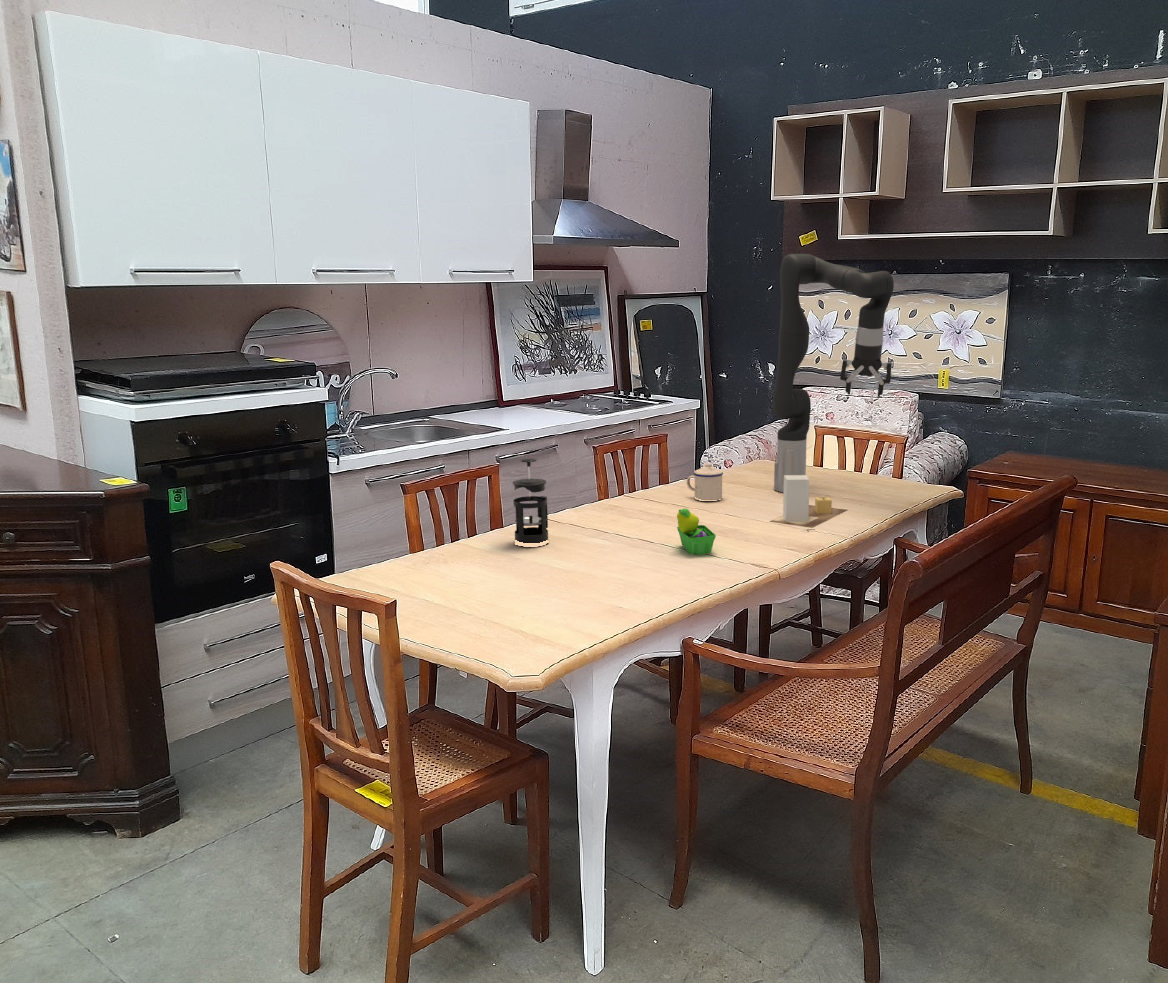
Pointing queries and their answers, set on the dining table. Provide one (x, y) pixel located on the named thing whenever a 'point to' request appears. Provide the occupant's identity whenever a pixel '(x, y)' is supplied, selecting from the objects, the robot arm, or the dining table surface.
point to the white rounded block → (796, 498)
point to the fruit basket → (694, 533)
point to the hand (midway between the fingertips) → (863, 395)
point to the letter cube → (823, 505)
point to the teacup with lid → (707, 483)
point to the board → (811, 518)
